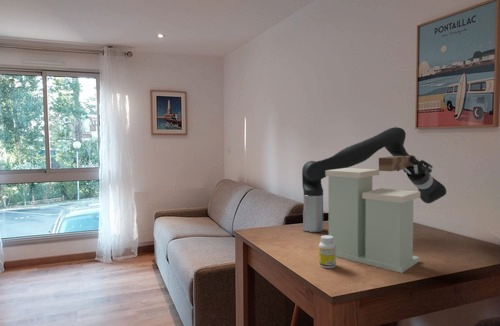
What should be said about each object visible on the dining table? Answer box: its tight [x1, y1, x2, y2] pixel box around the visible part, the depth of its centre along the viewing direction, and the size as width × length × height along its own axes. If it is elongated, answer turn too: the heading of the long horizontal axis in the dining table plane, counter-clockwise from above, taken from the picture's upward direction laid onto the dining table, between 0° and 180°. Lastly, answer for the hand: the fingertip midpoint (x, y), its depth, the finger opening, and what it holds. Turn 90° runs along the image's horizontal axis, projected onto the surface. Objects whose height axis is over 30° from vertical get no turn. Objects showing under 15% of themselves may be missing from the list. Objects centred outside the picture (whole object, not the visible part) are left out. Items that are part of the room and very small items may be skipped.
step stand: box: [325, 167, 420, 274], centre depth 131 cm, size 15×29×32 cm, turn 45°
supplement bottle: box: [318, 234, 337, 269], centre depth 124 cm, size 6×6×10 cm
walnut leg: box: [378, 155, 416, 172], centre depth 129 cm, size 22×4×4 cm, turn 135°
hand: (405, 157), depth 133 cm, fingers closed on walnut leg, 3 cm apart
